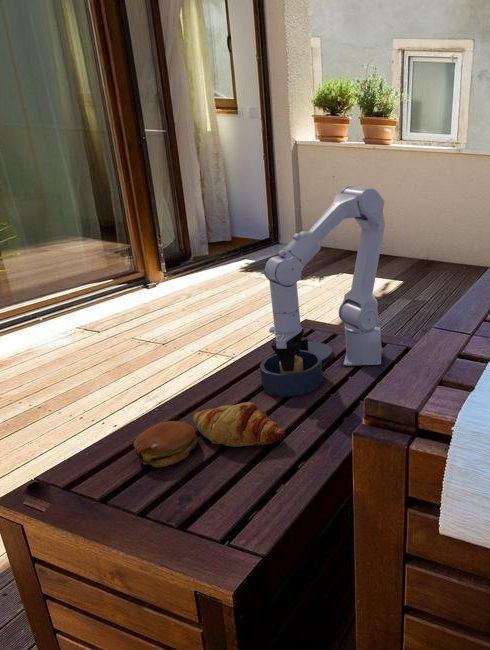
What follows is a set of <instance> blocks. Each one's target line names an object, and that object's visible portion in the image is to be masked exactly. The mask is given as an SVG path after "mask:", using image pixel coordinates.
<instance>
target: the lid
mask: <svg viewBox="0 0 490 650" xmlns="http://www.w3.org/2000/svg"><path fill="white" fill-rule="evenodd" d="M300 350H305V351H312V352H314V353H316V354H319V356H320V357H321V359H322V362H324V361H327V359H329V358H330V357H331V356H332V354H333V349H332V347H331V346H329V345H328V344H326V343H323V342H317V341H309V340H308V337H306V336H302V339H301V344H300Z"/></svg>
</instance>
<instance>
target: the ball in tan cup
mask: <svg viewBox="0 0 490 650" xmlns="http://www.w3.org/2000/svg"><path fill="white" fill-rule="evenodd" d="M279 364H280V373H281V374H291V373H297V372H302V371H303V359H302V358H301V357H299V356H296V355H295V363H294V369H293V371H284V370H283V368H282V365H281V362H279Z"/></svg>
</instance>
